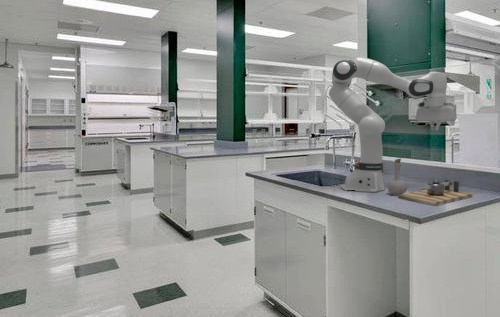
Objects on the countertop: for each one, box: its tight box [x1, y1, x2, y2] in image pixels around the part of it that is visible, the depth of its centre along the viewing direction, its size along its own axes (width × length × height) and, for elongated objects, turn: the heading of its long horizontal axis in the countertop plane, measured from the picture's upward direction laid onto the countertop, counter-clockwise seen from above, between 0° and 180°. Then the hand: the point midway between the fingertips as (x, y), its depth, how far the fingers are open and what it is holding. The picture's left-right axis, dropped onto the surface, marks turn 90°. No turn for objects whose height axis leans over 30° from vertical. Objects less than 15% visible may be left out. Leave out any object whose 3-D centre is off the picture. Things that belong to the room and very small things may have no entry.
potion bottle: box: [387, 157, 408, 197], centre depth 175 cm, size 9×9×18 cm
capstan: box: [423, 179, 453, 195], centre depth 169 cm, size 20×7×6 cm, turn 121°
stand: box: [397, 179, 473, 207], centre depth 168 cm, size 31×18×6 cm, turn 122°
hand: (434, 130), depth 185 cm, fingers closed
